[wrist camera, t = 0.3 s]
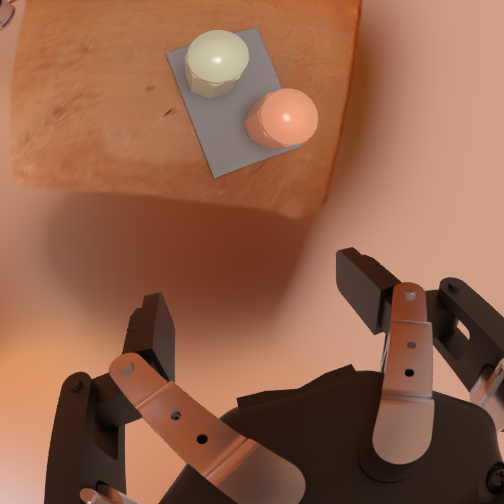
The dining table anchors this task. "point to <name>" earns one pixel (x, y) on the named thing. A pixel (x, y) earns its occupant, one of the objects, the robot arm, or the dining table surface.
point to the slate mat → (230, 109)
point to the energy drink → (6, 13)
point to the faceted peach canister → (282, 119)
